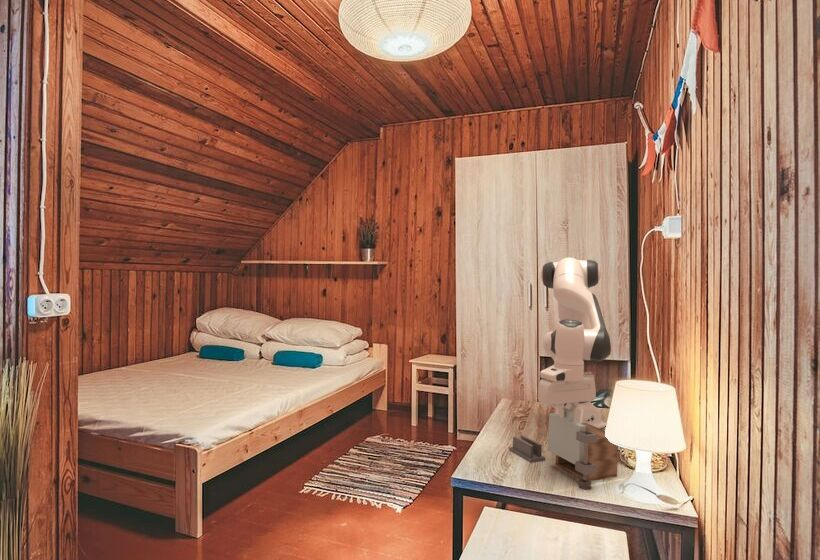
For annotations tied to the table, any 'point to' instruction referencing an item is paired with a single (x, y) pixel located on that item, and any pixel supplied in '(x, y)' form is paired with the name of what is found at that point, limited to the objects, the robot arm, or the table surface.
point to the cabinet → (594, 459)
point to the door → (570, 440)
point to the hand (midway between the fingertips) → (566, 416)
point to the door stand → (527, 449)
